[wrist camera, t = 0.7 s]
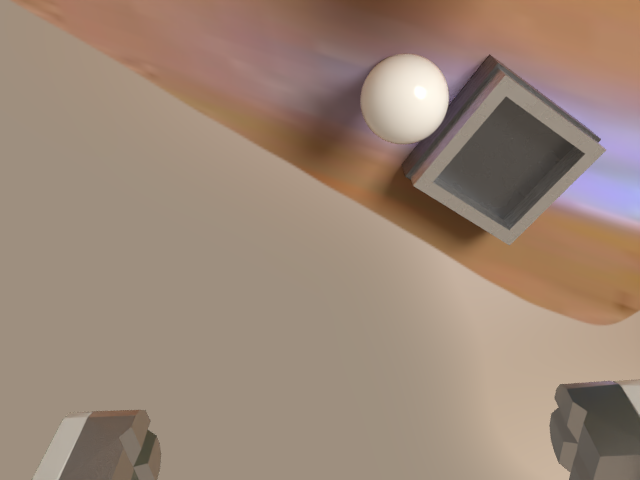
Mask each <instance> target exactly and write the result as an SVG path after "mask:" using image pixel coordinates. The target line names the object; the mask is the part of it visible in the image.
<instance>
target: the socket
mask: <svg viewBox="0 0 640 480" xmlns="http://www.w3.org/2000/svg"><path fill="white" fill-rule="evenodd" d="M600 140H601V139H600V138H599V137H598V136H596V135H595V134H594V133H593V132H592V131H591V130H590V129H588V128H587V127H586V126H584V125H583V124H582V123H580V122H579V121H578V120H576V119H575V118H574V117H572V116H571V115H570V114H568V113H567V112H566V111H564V110H563V109H562V108H560V107H559V106H558V105H556V104H555V103H554V102H552V101H551V100H550V99H548V98H547V97H546V96H544V95H543V94H542V93H540V92H539V91H538V90H536V89H535V88H534V87H532V86H531V85H530V84H528V83H527V82H526V81H524V80H523V79H522V78H520V77H519V76H518V75H516V74H515V73H514V72H512V71H511V70H510V69H508V68H507V67H506V66H504V65H503V64H502V63H500V62H499V61H498V60H496V59H495V58H494V57H492V56H491V55H489V56H488V58H487V59H486V60H485V61H484V63H483V64H482V65H481V66H480V68H479V69H478V70H477V71H476V73H475V74H474V75H473V76H472V78H471V79H470V80H469V81H468V83H467V84H466V85H465V86H464V88H463V89H462V90H461V91H460V93H459V94H458V95H457V96H456V98H455V99H454V100H453V101H452V103H451V104H450V105H449V106H448V109H447V112H446V115H445V117H444V119H443V121H442V123H441V124H440V126H439V127H438V128H437V129H436V130H435V131H434V132H433V133H432V134H431V135H430V136H428V137H427V138H425V139H423V140H421V141H420V143H419V144H418V145H417V146H416V148H415V149H414V150H413V151H412V153H411V154H410V155H409V156H408V158H407V159H406V160H405V161H404V163H403V164H402V167H403V170H404V174H405V177H407V178H409V179H410V180H412V184H413V186H414V187H416V188H417V189H419V190H421V191H422V192H424V193H426V194H427V195H429V196H430V197H432V198H434V199H435V200H437V201H439V202H440V203H442V204H443V205H445V206H447V207H448V208H450V209H451V210H453V211H455V212H456V213H458V214H460V215H461V216H463V217H464V218H466V219H468V220H469V221H471V222H473V223H474V224H476V225H477V226H479V227H481V228H482V229H484V230H485V231H487V232H489V233H490V234H492V235H494V236H495V237H497V238H498V239H500V240H502V241H503V242H505V243H507V244H508V245H510V244H511V243H513V242H514V241H515V240H516V239H517V238H518V237H519V236H520V235H521V234H522V233H523V232H524V231H525V230H526V229H527V228H528V227H529V226H530V225H531V224H532V223H533V222H534V221H535V220H536V219H537V218H538V217H539V216H540V215H541V214H542V213H543V212H544V211H545V210H546V209H547V208H548V207H549V206H550V205H551V204H552V203H553V202H554V201H555V200H556V199H557V198H558V197H559V196H560V195H561V194H562V193H563V192H564V191H565V190H566V189H567V188H568V187H569V186H570V185H571V184H572V183H573V182H574V181H575V180H576V179H577V178H578V177H579V176H580V175H581V174H582V173H584V172H585V171H586V170H587V169H588V168H589V167H590V166H591V165H592V164H593V163H594V162H595V161H596V160H597V159H598V158H599V157H600V156H601V155H602V154H603V153H604V152H605V151H606V149H605V148H604V147H603V146H601V145H600V144H599V143H598V142H599V141H600Z"/></svg>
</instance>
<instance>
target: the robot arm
mask: <svg viewBox="0 0 640 480" xmlns="http://www.w3.org/2000/svg"><path fill="white" fill-rule="evenodd" d="M555 400H556V402H557V405H558V407H559V408H557V409H556V410H555V411H554V412H553V413H552V414H551V420H550V434H551V441H552V445H553V449H554V452H555V455H556V457H557V460H558V462H559V464H561V465H562V466H563V467H564V468H566V469H567V470H568V471H569V472H571V473H570V478H569V480H640V380H624V381H613V382H612V381H602V382H589V383H574V384H560V385H559V386H558V388H557V389H556V394H555ZM149 424H150V419H149V416H148V414H147V412H146V410H125V411H124V410H123V411H122V410H121V411H94V412H73V413H69V414H68V415H67V416H66V417H65V418H64V419H63V420H62V422H61V424H60V426H59V427H58V429H57V431H56V433H55V435H54V437H53V439H52V441H51V443H50V445H49V447H48V449H47V451H46V453H45V455H44V457H43V459H42V460H41V462H40V464H39V466H38V468H37V470H36V472H35V474H34V476H33V478H32V480H157V478H158V475H159V471H160V462H161V450H160V443H159V441H158V438H157V436H156V435H155V434H154V433H152V432H150V431H149V430H148V427H149Z"/></svg>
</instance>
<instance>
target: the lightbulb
mask: <svg viewBox="0 0 640 480" xmlns="http://www.w3.org/2000/svg"><path fill="white" fill-rule="evenodd" d="M360 104H361V111H362V115H363V117H364V120H365V122H366V124H367V125H368V127H369V128H370V129H371V130H372V131H373V132H374V133H375V134H376V135H377V136H378V137H380V138H381V139H383V140H385V141H388V142H391V143H395V144H411V143H416V142H419V141H421V140H423V139H425V138H427V137H428V136H430V135H431V134H432V133H433V132H434V131H435V130H436V129H437V128H438V127H439V126H440V124H441V123H442V121H443V119H444V117H445V115H446V112H447V109H448V104H449V90H448V85H447V82H446V80H445V77H444V75H443V74H442V72H441V71H440V69H439V68H438V67H437V66H436V65H435V64H434V63H432V62H431V61H430V60H428V59H426V58H424V57H422V56H419V55H415V54H398V55H394V56H390V57H387V58H386V59H384V60H383V61H381V62H380V63H379V64H377V65H376V66H375V67H374V68H373V69H372V70H371V72H370V73H369V74H368V76H367V78H366V79H365V82H364V84H363V87H362V91H361V97H360Z"/></svg>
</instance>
